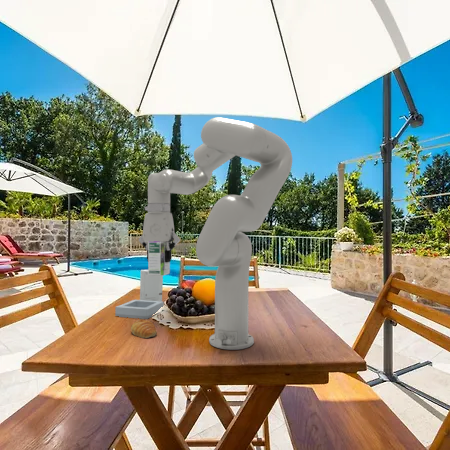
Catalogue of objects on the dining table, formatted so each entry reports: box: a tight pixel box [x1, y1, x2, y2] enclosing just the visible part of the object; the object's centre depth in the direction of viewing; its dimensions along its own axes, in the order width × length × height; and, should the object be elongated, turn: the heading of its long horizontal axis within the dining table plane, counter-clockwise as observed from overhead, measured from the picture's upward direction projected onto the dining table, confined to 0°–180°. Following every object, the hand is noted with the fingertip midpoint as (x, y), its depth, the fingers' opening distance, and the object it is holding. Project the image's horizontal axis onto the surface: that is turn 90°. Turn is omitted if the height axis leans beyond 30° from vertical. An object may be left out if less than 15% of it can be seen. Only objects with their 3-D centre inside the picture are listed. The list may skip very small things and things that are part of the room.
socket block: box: [114, 299, 165, 320], centre depth 121 cm, size 13×13×4 cm
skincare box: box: [139, 269, 164, 302], centre depth 136 cm, size 8×6×15 cm
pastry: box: [130, 319, 158, 339], centre depth 97 cm, size 9×7×4 cm
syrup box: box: [147, 241, 171, 277], centre depth 110 cm, size 6×6×14 cm
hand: (159, 261), depth 110 cm, fingers closed on syrup box, 5 cm apart
